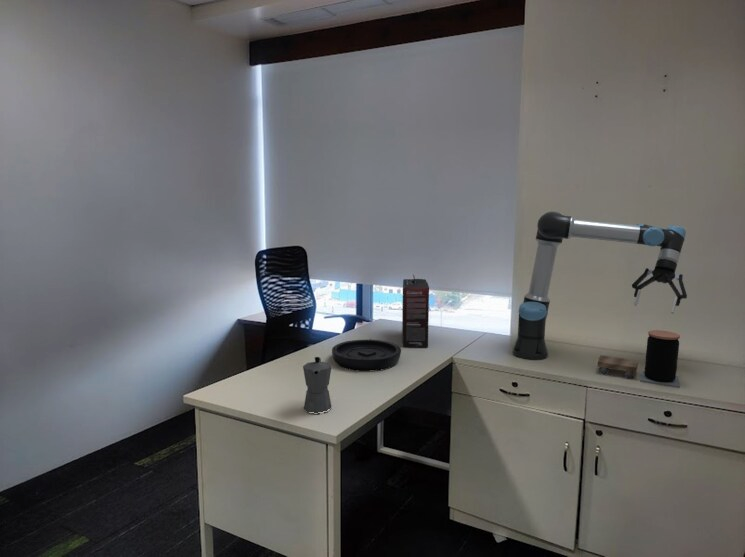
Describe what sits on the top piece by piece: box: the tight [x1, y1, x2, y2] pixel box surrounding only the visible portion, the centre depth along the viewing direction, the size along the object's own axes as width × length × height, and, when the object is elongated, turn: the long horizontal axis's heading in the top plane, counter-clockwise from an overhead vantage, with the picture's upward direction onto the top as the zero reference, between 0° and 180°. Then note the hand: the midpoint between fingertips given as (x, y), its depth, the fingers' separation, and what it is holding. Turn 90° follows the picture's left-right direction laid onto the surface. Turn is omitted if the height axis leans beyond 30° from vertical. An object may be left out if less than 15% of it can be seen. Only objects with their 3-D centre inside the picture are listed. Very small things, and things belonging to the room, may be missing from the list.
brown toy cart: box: [597, 354, 638, 380], centre depth 200 cm, size 14×10×5 cm
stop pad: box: [639, 370, 680, 389], centre depth 193 cm, size 13×12×1 cm
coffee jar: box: [643, 329, 681, 382], centre depth 191 cm, size 11×11×18 cm
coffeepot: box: [302, 356, 333, 413], centre depth 164 cm, size 15×9×18 cm, turn 3°
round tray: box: [331, 339, 402, 372], centre depth 214 cm, size 30×6×30 cm
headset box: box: [401, 274, 430, 348], centre depth 243 cm, size 25×12×33 cm, turn 178°
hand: (653, 308), depth 203 cm, fingers open, 13 cm apart
